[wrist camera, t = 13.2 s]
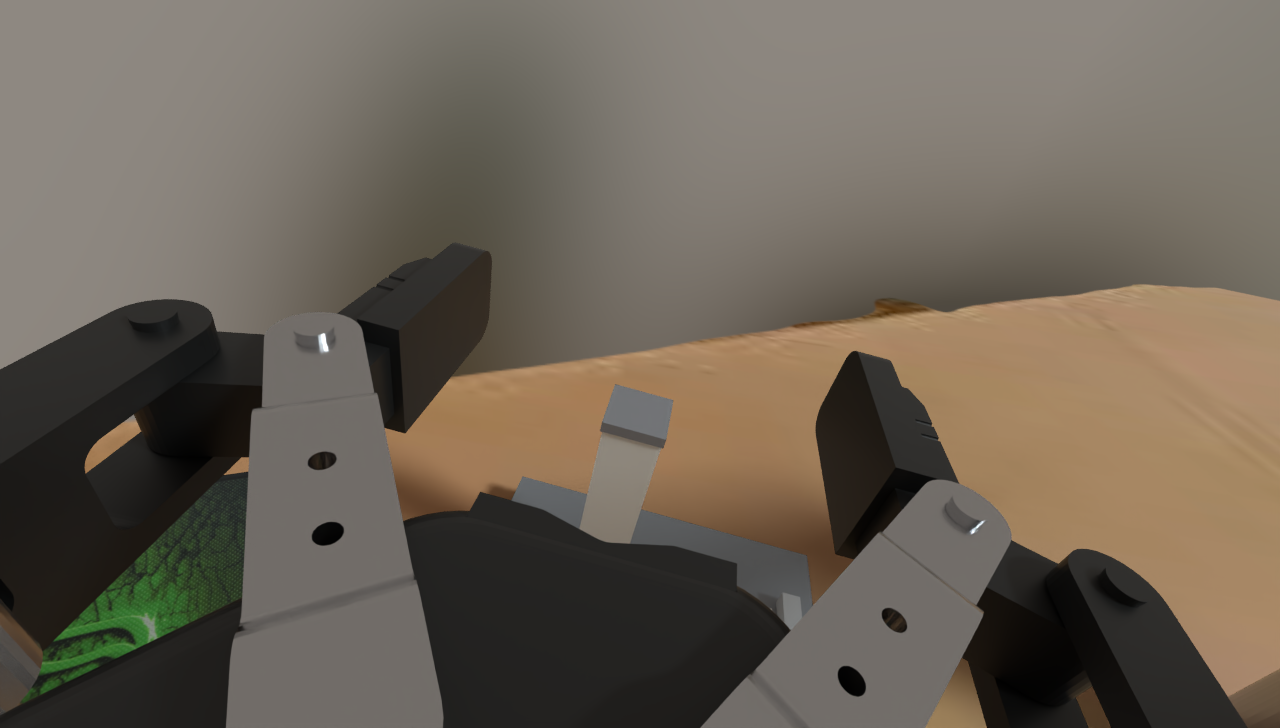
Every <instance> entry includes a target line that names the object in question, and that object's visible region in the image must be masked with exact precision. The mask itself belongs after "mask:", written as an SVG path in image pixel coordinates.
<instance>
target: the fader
mask: <svg viewBox="0 0 1280 728" xmlns="http://www.w3.org/2000/svg"><path fill="white" fill-rule="evenodd" d="M672 405H673V400H671V399H667V398H663V397H660V396H656V395H652V394H649V393H645V392H642V391H638V390H634V389H631V388H627V387H623V386H620V385H616V384H615V387H614V390H613V392H612V395H611V398H610V401H609V404H608V407H607V410H606V413H605V415H604V418H603V421H602V425H601V429H600V431H601V432H602V435H601V439H600V443H599V447H598V452H597V456H596V460H595V464H594V469H593V473H592V477H591V482H590V486H589V490H588V494H587V499H586V503H585V507H584V511H583V516H582V520H581V524H580V528H579V529H580V530H582V531H584V532H586V533H588V534H590V535H591V536H593V537H595V538H597V539H599V540H601V541H605V542H610V543H628V544H630V541H631V538H632V535H633V532H634V529H635V526H636V523H637V520H638V517H639V514H640V511H641V508H642V504H643V501H644V498H645V495H646V492H647V489H648V486H649V483H650V480H651V477H652V474H653V471H654V468H655V465H656V462H657V459H658V456H659V453H660V450H661V448H664V445H665V442H666V437H667V432H668V427H669V421H670V416H671V410H672Z"/></svg>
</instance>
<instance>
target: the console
mask: <svg viewBox="0 0 1280 728" xmlns="http://www.w3.org/2000/svg"><path fill="white" fill-rule="evenodd" d="M586 499H587V494H584V493H580V492H577V491H573V490H570V489H566V488H562V487H559V486H555V485H552V484H548V483H544V482H541V481H537V480H534V479H530V478H526V477H522V479H521V481H520V483H519V485H518V488H517V490H516V492H515V494H514V496H513V498H512V500H511V501H515V502H518V503H522V504H526V505H529V506H533V507H536V508H540V509H543V510H545V511H547V512H549V513H551V514H553V515H554V516H556V517H558V518H560V519H562V520H564V521H566V522H567V523H569V524H571V525H573V526H575V527H577V528H578V529H579V528H580V524H581V520H582V516H583V511H584V507H585V503H586ZM630 544H649V545H669V546H677V547H680V548H684V549H687V550H691V551H694V552H698V553H702V554H705V555H709V556H712V557H716V558H720V559H723V560H727V561H730V562H734V563H737V586H739V587H740V588H742V589H744V590H746V591H747V592H748V593H750V594H751V595H753V596H754V597H756V598H757V599H759V600H760V601H761V602H762V603H764V604H765V605H766V606H767V607H769V608H770V609H771V610H772V611H773V612H774V613H775V614H776V615H777V616H778V617H779V618H780V619H781V620H782V621H783V622H784V623H785V624H786V625H787V626H788V627H789V629H790V630H792V629H793V627H794V626H795V625H796V624H797V623H798V622H799V621H800V620H801V619H802V617H803V616H804V615H805V614H806V613H807V612H808V611H809V610H810V608H811V607H812V606H813V604H812V595H811V587H810V578H809V569H808V561H807V555H803V554H800V553H796V552H792V551H789V550H785V549H782V548H778V547H774V546H771V545H767V544H764V543H760V542H756V541H753V540H749V539H746V538H742V537H738V536H735V535H731V534H728V533H724V532H720V531H717V530H713V529H710V528H706V527H703V526H699V525H695V524H692V523H688V522H685V521H681V520H677V519H674V518H670V517H667V516H663V515H659V514H656V513H652V512H649V511H645V510H641V511H640V514H639V517H638V520H637V523H636V526H635V529H634V532H633V535H632V538H631V541H630Z"/></svg>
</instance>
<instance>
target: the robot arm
mask: <svg viewBox="0 0 1280 728" xmlns="http://www.w3.org/2000/svg"><path fill="white" fill-rule="evenodd" d="M491 269H492V259H491V255H490V253H489V252H488V251H485V250H481V249H477V248H474V247H470V246H466V245H463V244H459V243H452V244H451V245H450V246H448V247H447V248H446V249H444V250H443V251H442V252H441V253H440V254H438V255H437V256H436V257H434V258H433V259H429V258H423V259H420V260H417V261H414V262H410V263H407V264H404V265H402V266H401V267H400V268H398V269H397V270H396V271H394V272H393V273H392V274H390V275H389V278H385V279H383V280H382V281H381V282H379V283H378V284H377V286H376V287H373V288H371V289H370V290H369V291H367V292H366V293H364V294H363V295H362V296H361V297H359V298H358V299H356V300H355V301H354V302H352V303H351V304H350V305H348V306H347V307H346V308H344V309H343V310H342V311H340V312H339V313H337V314H335V313H328V312H311V313H303V314H298V315H294V316H290V317H287V318H285V319H282V320H280V321H278V322H277V323H275V324H274V325H272V326H271V327H270V328H269V329H268V330H267V332H266V333H265V335H261V334H245V333H231V332H217V331H216V328H215V324H214V320H213V317H212V314H211V312H210V311H209V310H208V309H207V308H205V307H204V306H202V305H200V304H198V303H194V302H190V301H184V300H172V299H171V300H168V299H164V300H152V301H145V302H139V303H135V304H131V305H128V306H124V307H122V308H119V309H116V310H114V311H112V312H110V313H108V314H106V315H104V316H102V317H101V318H98V319H97V320H95V321H93V322H91V323H89V324H87V325H85V326H83V327H81V328H79V329H77V330H75V331H73V332H71V333H70V334H68V335H66V336H64V337H62V338H60V339H58V340H56V341H54V342H53V343H50V344H48V345H46V346H45V347H43V348H41V349H39V350H37V351H35V352H33V353H31V354H29V355H27V356H26V357H24V358H22V359H20V360H18V361H16V362H14V363H12V364H10V365H8V366H6V367H4V368H3V369H0V728H925V727H926V725H927V723H928V721H929V719H930V717H931V715H932V714H933V712H934V710H935V708H936V706H937V704H938V702H939V700H940V698H941V696H942V694H943V692H944V691H945V689H946V687H947V685H948V683H949V681H950V679H951V677H952V675H953V673H954V671H955V669H956V667H957V666H958V664H959V662H960V660H961V658H963V659H965V660H967V661H968V663H969V666H970V670H971V673H972V677H973V680H974V684H975V687H976V691H977V694H978V698H979V701H980V705H981V708H982V712H983V715H984V719H985V722H986V726H987V728H1088V725H1087V723H1086V721H1085V718H1084V716H1083V714H1082V711H1081V709H1080V707H1079V704H1078V702H1077V700H1076V697H1077V696H1078V695H1080V694H1081V693H1083V692H1084V691H1086V690H1087V689H1089V688H1090V687H1092V686H1093V688H1094V691H1095V693H1096V695H1097V697H1098V699H1099V701H1100V704H1101V706H1102V708H1103V710H1104V712H1105V714H1106V717H1107V719H1108V721H1109V723H1110V726H1111V728H1280V669H1279V670H1277V671H1275V672H1273V673H1271V674H1269V675H1268V676H1266V677H1264V678H1262V679H1260V680H1258V681H1256V682H1255V683H1253V684H1251V685H1249V686H1247V687H1245V688H1243V689H1242V690H1240V691H1238V692H1236V693H1234V694H1233V695H1231V696H1229V697H1227V695H1226V693H1225V692H1224V690H1223V689H1222V687H1221V686H1220V684H1219V683H1218V681H1217V680H1216V678H1215V677H1214V675H1213V674H1212V672H1211V671H1210V669H1209V667H1208V666H1207V664H1206V663H1205V661H1204V660H1203V658H1202V657H1201V655H1200V654H1199V652H1198V651H1197V649H1196V648H1195V646H1194V645H1193V643H1192V642H1191V640H1190V638H1189V637H1188V635H1187V634H1186V632H1185V631H1184V629H1183V628H1182V626H1181V625H1180V623H1179V622H1178V620H1177V619H1176V617H1175V616H1174V614H1173V613H1172V611H1171V609H1170V608H1169V606H1168V605H1167V604H1166V602H1165V601H1164V599H1163V598H1162V597H1161V596H1160V595H1159V593H1158V592H1157V591H1156V590H1155V589H1154V588H1153V587H1152V586H1151V585H1150V584H1149V583H1148V582H1147V581H1146V580H1144V579H1143V578H1142V577H1141V576H1140V575H1138V574H1137V573H1136V572H1134V571H1133V570H1132V569H1130V568H1129V567H1127V566H1126V565H1124V564H1123V563H1121V562H1119V561H1117V560H1116V559H1114V558H1112V557H1110V556H1107V555H1105V554H1103V553H1100V552H1097V551H1093V550H1089V549H1077V550H1074V551H1072V552H1071V553H1070V554H1069V555H1068V556H1067V557H1066V558H1065V559H1064V560H1062V561H1061V562H1060V563H1059V564H1057V563H1055V562H1053V561H1051V560H1049V559H1047V558H1045V557H1043V556H1041V555H1039V554H1037V553H1035V552H1033V551H1031V550H1029V549H1027V548H1025V547H1023V546H1021V545H1019V544H1017V543H1016V542H1014V541H1012V540H1011V531H1010V528H1009V526H1008V524H1007V522H1006V520H1005V519H1004V517H1003V516H1002V515H1001V513H1000V512H999V511H998V510H997V509H996V508H995V507H994V506H993V505H992V504H991V503H990V502H989V501H987V500H986V499H985V498H984V497H982V496H981V495H979V494H978V493H976V492H975V491H973V490H971V489H969V488H967V487H965V486H963V485H961V484H959V482H958V480H957V478H956V476H955V473H954V471H953V469H952V467H951V464H950V462H949V460H948V458H947V456H946V453H945V451H944V449H943V447H942V444H941V442H939V441H938V435H937V433H936V431H935V429H934V427H931V425H932V422H931V420H930V418H929V415H928V413H927V411H926V409H925V407H924V405H923V404H922V403H921V402H920V401H919V400H918V399H917V398H916V397H915V396H914V395H913V394H912V392H911V391H910V390H909V389H907V388H904V387H902V386H901V384H900V382H899V379H898V377H897V374H896V372H895V369H894V367H893V365H892V363H891V361H890V360H887V359H884V358H880V357H876V356H872V355H869V354H865V353H861V352H857V351H853V352H851V353H850V354H849V355H848V357H847V358H846V360H845V362H844V364H843V365H842V367H841V369H840V371H839V373H838V375H837V377H836V379H835V381H834V382H833V384H832V386H831V388H830V390H829V392H828V394H827V396H826V398H825V399H824V401H823V403H822V405H821V407H820V410H819V413H818V416H817V421H816V438H817V444H818V450H819V456H820V463H821V469H822V475H823V481H824V487H825V493H826V499H827V505H828V512H829V518H830V524H831V530H832V536H833V542H834V548H835V554H837V555H840V556H844V557H847V558H851V559H854V560H853V562H852V563H851V564H850V565H849V566H848V567H847V568H846V569H845V571H844V572H843V573H842V574H841V575H840V576H839V577H838V578H837V579H836V581H835V582H834V583H833V584H832V585H831V586H830V587H829V588H828V590H827V591H826V592H825V593H824V594H823V595H822V596H821V597H820V598H819V600H818V601H817V602H816V603H815V604H814V605H813V606H812V607H811V608H810V610H809V611H808V612H807V613H806V614H805V615H804V616H803V617H802V619H801V620H800V621H799V622H798V623H797V624H796V625H795V626H794V627H793V629H792V630H790V629H789V627H788V626H787V625H786V624H785V623H784V622H783V621H782V620H781V619H780V618H779V617H778V616H777V615H776V614H775V613H774V612H773V611H772V610H771V609H770V608H769V607H767V606H766V605H765V604H764V603H762V602H761V601H760V600H759V599H757V598H756V597H754V596H753V595H751V594H750V593H748V592H747V591H746V590H744V589H742V588H740V587H739V586H737V563H734V562H730V561H727V560H723V559H720V558H716V557H712V556H709V555H705V554H702V553H698V552H694V551H691V550H687V549H684V548H680V547H677V546H669V545H649V544H628V543H610V542H605V541H601V540H599V539H597V538H595V537H593V536H591V535H590V534H588V533H586V532H584V531H582V530H580V529H578V528H577V527H575V526H573V525H571V524H569V523H567V522H566V521H564V520H562V519H560V518H558V517H556V516H554V515H553V514H551V513H549V512H547V511H545V510H543V509H540V508H536V507H533V506H529V505H526V504H522V503H518V502H515V501H511V500H508V499H504V498H500V497H497V496H493V495H490V494H486V493H482V492H480V493H479V495H478V497H477V499H476V501H475V502H474V504H473V506H472V508H471V510H470V511H447V512H439V513H432V514H426V515H422V516H418V517H415V518H411V519H408V520H405V521H403V519H402V514H401V509H400V504H399V499H398V494H397V489H396V484H395V479H394V474H393V469H392V464H391V459H390V454H389V449H388V444H387V439H386V434H385V429H384V428H387V429H391V430H395V431H398V432H402V433H406V432H407V431H408V429H409V428H410V427H411V426H412V424H413V423H414V422H415V421H416V420H417V418H418V417H419V416H420V415H421V413H422V412H423V411H424V410H425V408H426V407H427V406H428V405H429V403H430V402H431V401H432V400H433V399H434V397H435V396H436V395H437V394H438V392H439V391H440V390H441V389H442V387H443V386H444V385H445V384H446V382H447V381H448V380H449V379H450V377H451V376H452V375H453V374H454V372H455V371H456V370H457V369H458V368H459V366H460V365H461V364H462V363H463V361H464V360H465V359H466V358H467V356H468V355H469V354H470V353H471V351H472V350H473V349H474V348H475V346H476V345H477V344H478V343H479V342H480V340H481V339H482V337H483V335H484V333H485V330H486V327H487V323H488V319H489V307H490V288H491ZM133 414H134V416H135V418H136V420H137V422H138V425H139V427H140V429H141V432H140V433H139V434H137V435H136V436H135V437H134V438H132V439H131V440H130V441H128V442H127V443H126V444H124V445H123V446H122V447H120V448H119V449H118V450H116V451H115V452H114V453H112V454H111V455H110V456H109V457H107V458H106V459H105V460H103V461H102V462H101V463H99V464H98V465H97V466H95V467H94V468H93V469H91V470H90V471H89V472H87V473H86V474H85V469H84V467H85V460H86V457H87V455H88V453H89V451H90V449H91V448H92V447H93V445H94V444H95V443H96V442H97V441H98V440H99V439H100V438H102V437H103V436H104V435H106V434H107V433H109V432H110V431H111V430H113V429H114V428H115V427H117V426H118V425H120V424H121V423H122V422H124V421H125V420H127V419H128V418H129V417H131V416H132V415H133ZM241 457H249V472H248V492H247V513H246V533H245V553H244V574H243V594H242V598H240V599H238V600H236V601H234V602H231V603H229V604H227V605H225V606H223V607H221V608H219V609H217V610H215V611H213V612H211V613H209V614H207V615H205V616H203V617H200V618H198V619H196V620H194V621H192V622H190V623H188V624H186V625H184V626H182V627H180V628H178V629H176V630H174V631H171V632H169V633H167V634H165V635H163V636H161V637H159V638H157V639H155V640H153V641H151V642H149V643H147V644H145V645H143V646H140V647H138V648H136V649H134V650H132V651H130V652H128V653H126V654H124V655H122V656H120V657H118V658H116V659H113V660H111V661H109V662H107V663H105V664H103V665H101V666H99V667H97V668H95V669H93V670H91V671H89V672H87V673H84V674H82V675H80V676H78V677H76V678H74V679H72V680H70V681H68V682H66V683H64V684H62V685H60V686H57V687H55V688H53V689H51V690H49V691H47V692H45V693H43V694H41V695H39V696H37V697H35V698H33V699H30V700H28V701H26V702H24V703H21V701H22V699H23V698H24V697H25V696H26V694H27V693H28V692H29V691H30V689H31V688H32V686H33V684H34V683H35V681H36V679H37V677H38V675H39V672H40V670H41V666H42V662H43V651H44V650H45V649H46V648H47V647H48V646H49V645H50V644H51V643H52V642H53V641H54V640H55V639H56V638H57V637H58V636H59V635H60V634H61V633H62V632H63V631H64V630H65V629H66V628H67V627H68V626H69V625H70V624H71V623H72V622H73V621H74V620H75V619H76V618H77V617H78V616H79V615H80V614H81V613H83V612H84V611H85V610H86V609H87V608H88V607H89V606H90V605H91V604H92V603H93V602H94V601H95V600H96V599H97V598H98V597H99V596H100V595H101V594H102V593H103V592H104V591H105V590H106V589H107V588H108V587H109V586H110V585H111V584H112V583H113V582H114V581H115V580H116V579H117V578H118V577H119V576H120V575H121V574H122V573H123V572H124V571H125V570H127V569H128V568H129V567H130V566H131V565H132V564H133V563H134V562H135V561H136V560H137V559H138V558H139V557H140V556H141V555H142V554H143V553H144V552H145V551H146V550H147V549H148V548H149V547H150V546H151V545H152V544H153V543H154V542H155V541H156V540H157V539H158V538H159V537H160V536H161V535H162V534H163V533H164V532H165V531H166V530H167V529H168V528H170V527H171V526H172V525H173V524H174V523H175V522H176V521H177V520H178V519H179V518H180V517H181V516H182V515H183V514H184V513H185V512H186V511H187V510H188V509H189V508H190V507H191V506H192V505H193V504H194V503H195V502H196V501H197V500H198V499H199V498H200V497H201V496H202V495H203V494H204V493H205V492H206V491H207V490H208V489H209V488H210V487H211V486H213V485H214V484H215V483H216V482H217V481H218V480H219V479H220V478H221V477H222V476H223V475H224V474H225V473H226V472H227V471H228V470H229V469H230V468H231V467H232V466H233V465H234V464H235V463H236V462H237V461H238V460H239V459H240V458H241Z"/></svg>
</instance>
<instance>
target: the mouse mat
mask: <svg viewBox="0 0 1280 728" xmlns="http://www.w3.org/2000/svg"><path fill="white" fill-rule="evenodd" d="M247 492H248V472H243V473H236V474H229V475H223V476H222V477H221V478H220V479H219V480H218V481H217V482H216V483H215V484H214V485H213V486H211V487H210V488H209V489H208V490H207V491H206V492H205V493H204V494H203V495H202V496H201V497H200V498H199V499H198V500H197V501H196V502H195V503H194V504H193V505H192V506H191V507H190V508H189V509H188V510H187V511H186V512H185V513H184V514H183V515H182V516H181V517H180V518H179V519H178V520H177V521H176V522H175V523H174V524H173V525H172V526H171V527H170V528H168V529H167V530H166V531H165V532H164V533H163V534H162V535H161V536H160V537H159V538H158V539H157V540H156V541H155V542H154V543H153V544H152V545H151V546H150V547H149V548H148V549H147V550H146V551H145V552H144V553H143V554H142V555H141V556H140V557H139V558H138V559H137V560H136V561H135V562H134V563H133V564H132V565H131V566H130V567H129V568H128V569H127V570H125V571H124V572H123V573H122V574H121V575H120V576H119V577H118V578H117V579H116V580H115V581H114V582H113V583H112V584H111V585H110V586H109V587H108V588H107V589H106V590H105V591H104V592H103V593H102V594H101V595H100V596H99V597H98V598H97V599H96V600H95V601H94V602H93V603H92V604H91V605H90V606H89V607H88V608H87V609H86V610H85V611H84V612H83V613H81V614H80V615H79V616H78V617H77V618H76V619H75V620H74V621H73V622H72V623H71V624H70V625H69V626H68V627H67V628H66V629H65V630H64V631H63V632H62V633H61V634H60V635H59V636H58V637H57V638H56V639H55V640H54V641H53V642H52V643H51V644H50V645H49V646H48V647H47V648H46V649H45V650H44V651H43V662H42V666H41V670H40V672H39V675H38V677H37V679H36V681H35V683H34V684H33V686H32V688H31V689H30V691H29V692H28V693H27V694H26V696H25V697H24V698H23V699H22V701H21V703H24V702H26V701H28V700H30V699H33V698H35V697H37V696H39V695H41V694H43V693H45V692H47V691H49V690H51V689H53V688H55V687H57V686H60V685H62V684H64V683H66V682H68V681H70V680H72V679H74V678H76V677H78V676H80V675H82V674H84V673H87V672H89V671H91V670H93V669H95V668H97V667H99V666H101V665H103V664H105V663H107V662H109V661H111V660H113V659H116V658H118V657H120V656H122V655H124V654H126V653H128V652H130V651H132V650H134V649H136V648H138V647H140V646H143V645H145V644H147V643H149V642H151V641H153V640H155V639H157V638H159V637H161V636H163V635H165V634H167V633H169V632H171V631H174V630H176V629H178V628H180V627H182V626H184V625H186V624H188V623H190V622H192V621H194V620H196V619H198V618H200V617H203V616H205V615H207V614H209V613H211V612H213V611H215V610H217V609H219V608H221V607H223V606H225V605H227V604H229V603H231V602H234V601H236V600H238V599H240V598H242V594H243V574H244V553H245V533H246V513H247Z"/></svg>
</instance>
